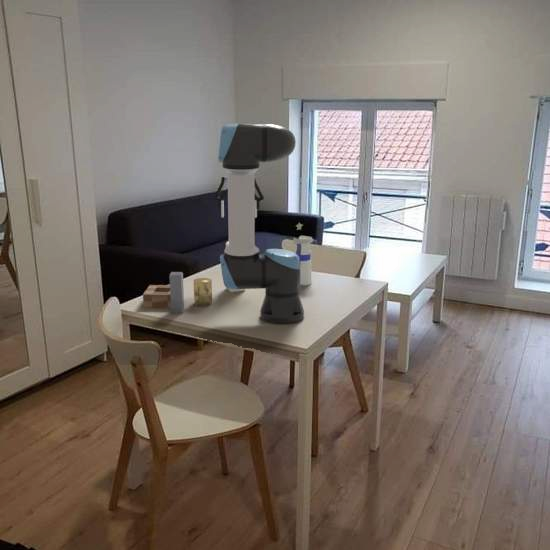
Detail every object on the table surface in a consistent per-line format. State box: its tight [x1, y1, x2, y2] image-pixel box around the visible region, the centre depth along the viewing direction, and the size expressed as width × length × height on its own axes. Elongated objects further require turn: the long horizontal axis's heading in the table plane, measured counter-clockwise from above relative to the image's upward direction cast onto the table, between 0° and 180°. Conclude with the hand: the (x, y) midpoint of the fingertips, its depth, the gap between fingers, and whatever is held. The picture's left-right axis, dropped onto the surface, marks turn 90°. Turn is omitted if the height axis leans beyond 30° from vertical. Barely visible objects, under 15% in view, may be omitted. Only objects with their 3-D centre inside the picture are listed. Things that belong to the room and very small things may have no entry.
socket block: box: [142, 284, 171, 309], centre depth 210 cm, size 12×12×5 cm
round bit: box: [193, 277, 213, 308], centre depth 208 cm, size 7×7×9 cm
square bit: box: [169, 271, 185, 314], centre depth 199 cm, size 4×4×14 cm
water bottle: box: [293, 221, 314, 286], centre depth 233 cm, size 8×9×25 cm
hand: (239, 217), depth 232 cm, fingers open, 13 cm apart
